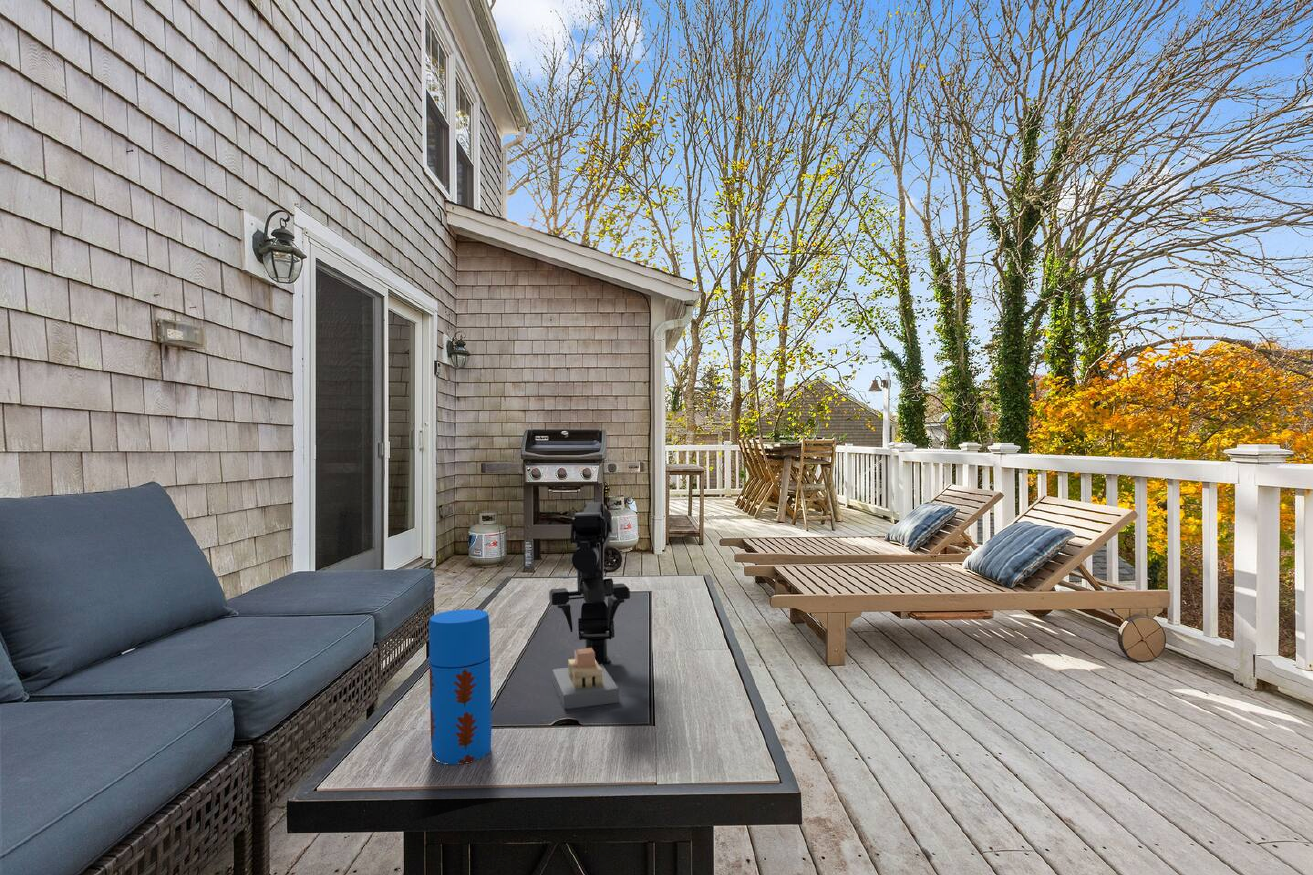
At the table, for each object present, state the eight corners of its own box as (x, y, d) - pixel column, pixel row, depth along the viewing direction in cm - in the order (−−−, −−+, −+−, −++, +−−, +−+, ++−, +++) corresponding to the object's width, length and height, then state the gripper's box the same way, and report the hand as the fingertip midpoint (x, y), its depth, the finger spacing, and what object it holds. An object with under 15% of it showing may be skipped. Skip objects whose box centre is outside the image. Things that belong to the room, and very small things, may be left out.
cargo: (574, 662, 155) (574, 649, 156) (591, 660, 157) (591, 647, 157) (577, 668, 152) (577, 654, 152) (595, 666, 153) (594, 652, 153)
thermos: (436, 770, 118) (433, 626, 118) (426, 747, 128) (424, 613, 128) (498, 756, 123) (495, 618, 123) (484, 734, 133) (482, 606, 133)
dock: (552, 682, 162) (552, 669, 162) (602, 676, 165) (601, 663, 165) (563, 709, 145) (563, 695, 145) (618, 702, 148) (618, 688, 148)
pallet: (568, 674, 158) (568, 659, 158) (593, 671, 160) (593, 656, 160) (575, 688, 148) (575, 672, 148) (602, 685, 150) (602, 669, 150)
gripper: (554, 573, 153) (556, 643, 152) (635, 567, 158) (636, 634, 158) (548, 565, 163) (549, 630, 163) (623, 560, 169) (625, 623, 168)
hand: (590, 629), depth 163 cm, fingers open, 9 cm apart
